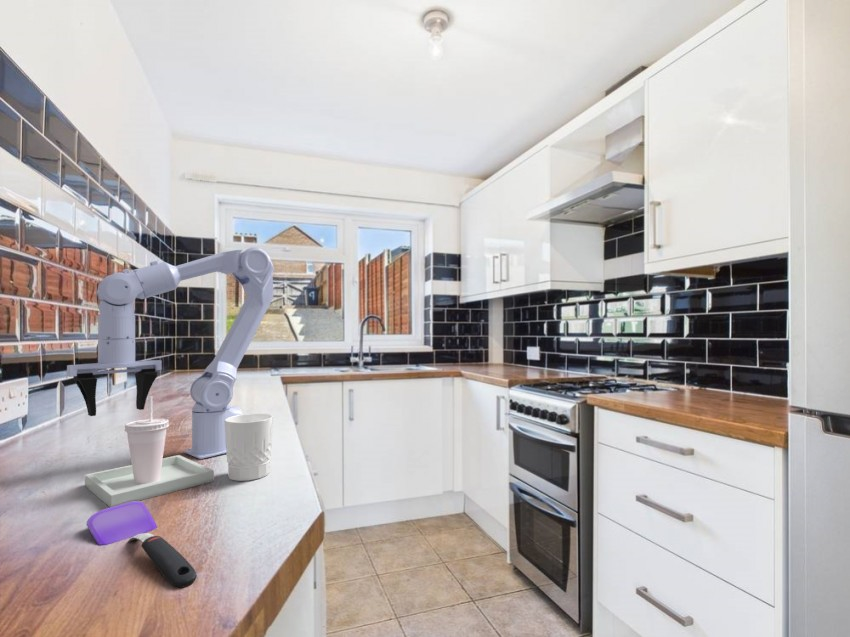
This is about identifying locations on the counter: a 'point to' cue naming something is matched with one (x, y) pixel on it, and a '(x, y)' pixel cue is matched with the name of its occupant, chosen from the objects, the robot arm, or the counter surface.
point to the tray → (122, 489)
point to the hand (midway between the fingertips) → (117, 412)
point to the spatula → (141, 539)
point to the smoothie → (147, 447)
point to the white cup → (248, 446)
